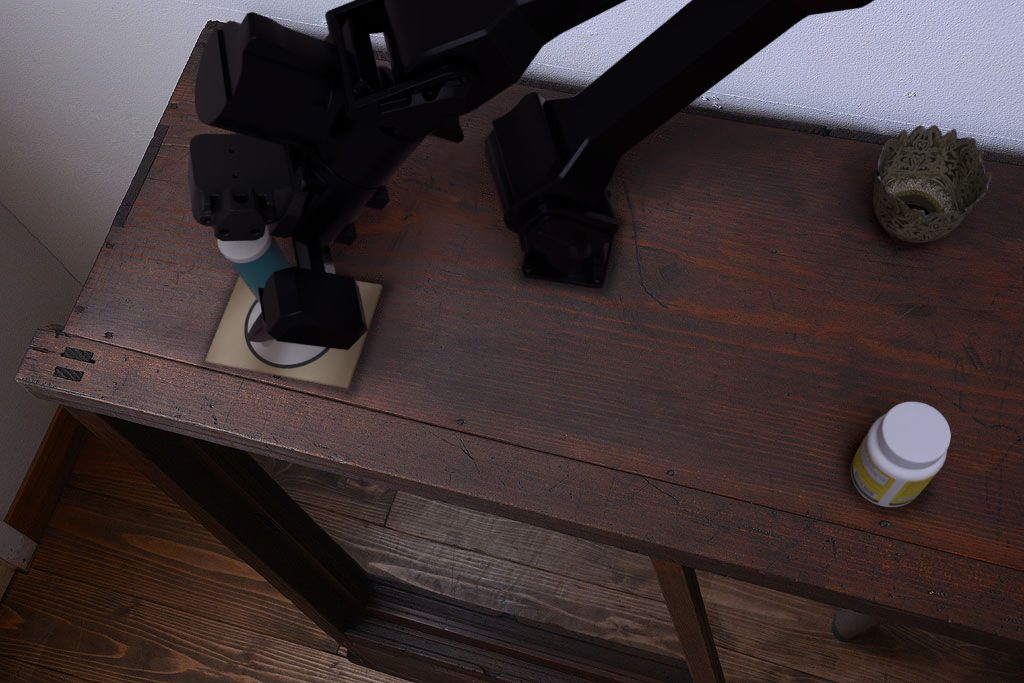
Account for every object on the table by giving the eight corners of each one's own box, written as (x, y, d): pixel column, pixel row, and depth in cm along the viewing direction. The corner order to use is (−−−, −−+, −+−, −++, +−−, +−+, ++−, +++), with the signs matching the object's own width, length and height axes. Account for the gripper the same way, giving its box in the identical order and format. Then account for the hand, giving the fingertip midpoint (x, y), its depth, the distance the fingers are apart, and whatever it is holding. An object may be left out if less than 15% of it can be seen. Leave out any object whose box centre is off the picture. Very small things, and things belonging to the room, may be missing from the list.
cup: (965, 269, 72) (1001, 209, 65) (863, 273, 73) (887, 214, 66) (948, 186, 76) (980, 120, 68) (850, 190, 76) (872, 126, 69)
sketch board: (383, 287, 77) (381, 283, 77) (349, 389, 74) (347, 386, 73) (246, 265, 80) (243, 261, 79) (206, 362, 76) (203, 359, 76)
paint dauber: (308, 292, 77) (255, 204, 66) (329, 325, 76) (278, 241, 65) (269, 315, 77) (208, 230, 66) (288, 349, 75) (229, 268, 64)
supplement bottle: (927, 453, 67) (964, 407, 59) (916, 517, 65) (953, 478, 57) (856, 434, 68) (883, 386, 60) (842, 496, 66) (869, 456, 58)
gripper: (212, 3, 60) (123, 159, 69) (251, 251, 51) (143, 389, 61) (367, 57, 67) (267, 192, 77) (423, 283, 58) (303, 402, 68)
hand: (245, 285), depth 70 cm, fingers open, 9 cm apart
